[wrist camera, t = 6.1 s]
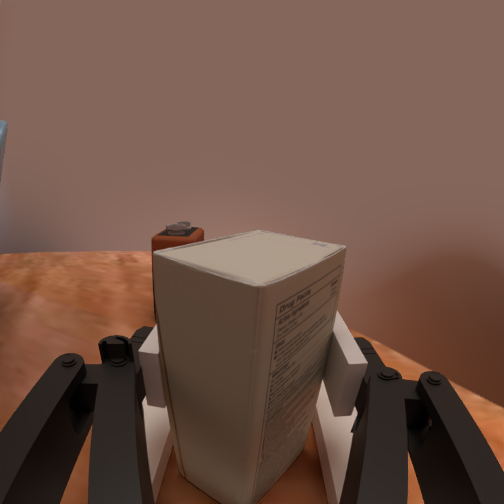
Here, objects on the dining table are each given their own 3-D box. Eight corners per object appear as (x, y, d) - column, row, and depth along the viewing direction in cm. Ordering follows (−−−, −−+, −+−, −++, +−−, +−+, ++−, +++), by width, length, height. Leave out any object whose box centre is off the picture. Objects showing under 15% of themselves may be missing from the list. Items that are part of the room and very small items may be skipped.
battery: (154, 323, 29) (149, 226, 27) (169, 299, 36) (168, 218, 33) (194, 326, 29) (194, 228, 27) (203, 301, 36) (205, 219, 34)
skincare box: (246, 420, 17) (259, 228, 14) (308, 449, 14) (351, 243, 11) (174, 476, 12) (145, 246, 9) (242, 522, 9) (264, 280, 6)
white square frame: (90, 536, 6) (78, 525, 6) (157, 384, 19) (155, 368, 19) (390, 551, 6) (403, 541, 6) (339, 394, 19) (343, 378, 19)
